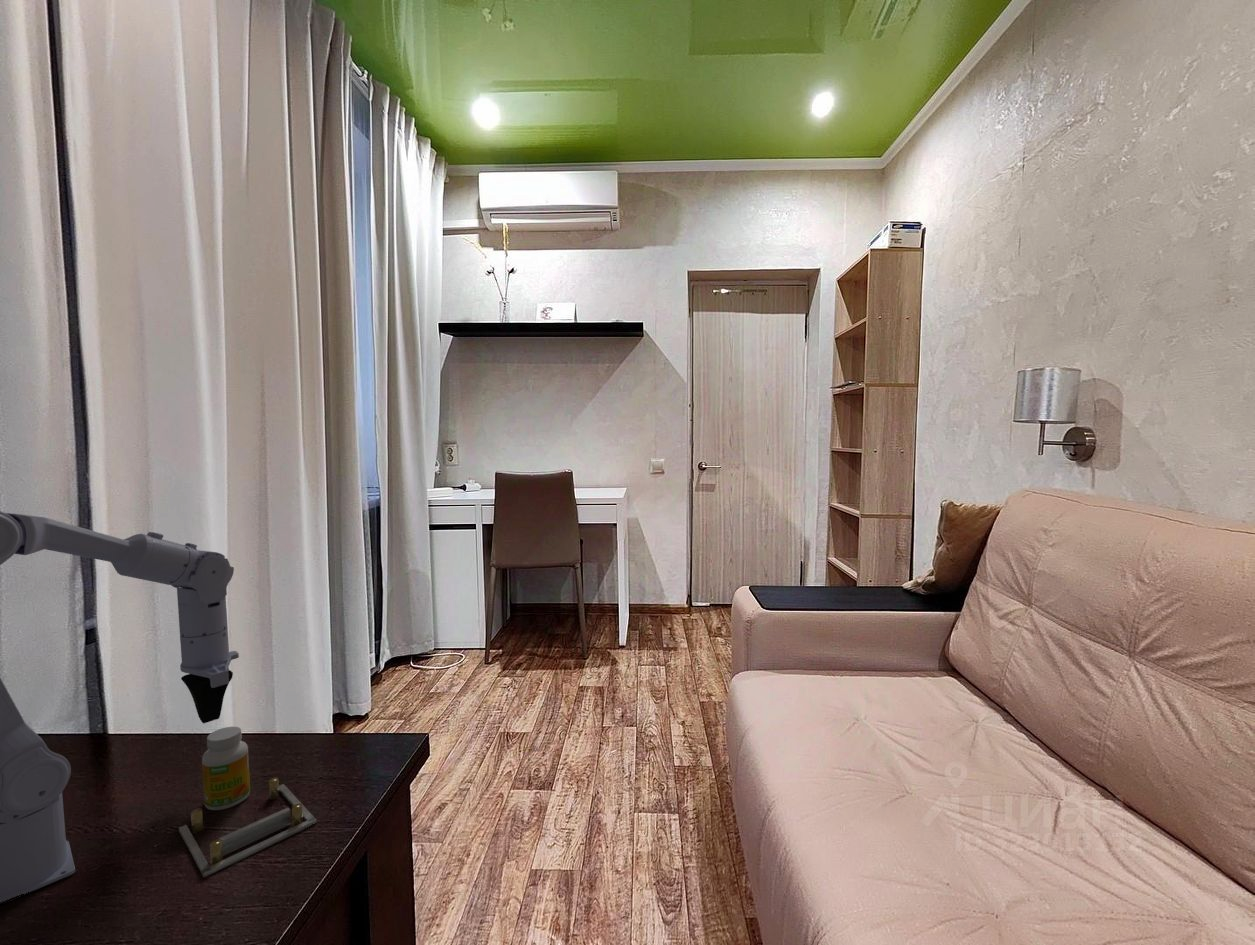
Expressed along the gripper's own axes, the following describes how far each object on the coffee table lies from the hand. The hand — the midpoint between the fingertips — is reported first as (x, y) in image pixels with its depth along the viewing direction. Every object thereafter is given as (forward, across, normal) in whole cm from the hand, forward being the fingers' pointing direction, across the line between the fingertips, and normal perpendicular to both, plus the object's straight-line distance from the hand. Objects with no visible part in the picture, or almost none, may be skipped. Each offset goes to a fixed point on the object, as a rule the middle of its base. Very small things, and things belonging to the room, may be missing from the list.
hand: (210, 719), depth 87 cm
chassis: (+9, -16, 0) cm, 19 cm away
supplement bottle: (+9, -8, 0) cm, 12 cm away
